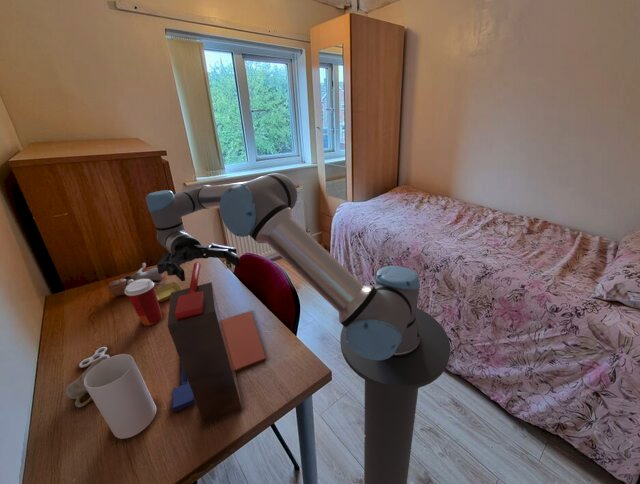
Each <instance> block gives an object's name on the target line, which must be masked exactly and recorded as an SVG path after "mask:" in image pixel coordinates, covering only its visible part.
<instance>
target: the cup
mask: <svg viewBox="0 0 640 484" xmlns="http://www.w3.org/2000/svg"><path fill="white" fill-rule="evenodd" d="M106 358H107V357H106ZM84 386H85V387H86V389H87V391H88V394H89V396H90V397H92V401H93V402H94V404H95V406H96V407H97V409H98V411H99V413H100V414H101V416H102V418H103V419H104V421H105V423H106V425H107V426H108V427H109V429H110V430H111V432H112V434H113V436H114V437H115V438H117V439H129V438H132V437H134V436H136V435H138V434H139V433H141V432H142V431H144V430H145V429H146V428H148V426H150V425H151V423H152V422H153V420H154V419H155V417H156V414H157V406H156V403H155V401H154V399H153V397H152V395H151V393H150V390H149V388H148V386H147V384H146V382H145V380H144V378H143V375H142V374H141V372H140V369H139V367H138V365H137V363H136V361H135V358H134V357H133V355H131V354H128V353H120V354H116V355H112V356H110V357H109V358H107V359H105V360H103V361H101V362H100V363H98V364H97V365H95V366H94V367H93V368H92V369H91V370H90V371H89V372H88V373H87V374H86V376H85V378H84Z"/></svg>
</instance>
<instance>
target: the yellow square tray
mask: <svg viewBox="0 0 640 484" xmlns="http://www.w3.org/2000/svg"><path fill="white" fill-rule="evenodd" d="M166 284H167V286H158V287H157V288H154V289H155V292H156V296H157V299H158V302H161V303H162V302H165V301H167V300H170V294H171V293H172V292H175V291H179V290H183V288H182V286H181V285H180V284H179V283H178V282H177V281H175V280H174V281H171V282H169V283H166Z"/></svg>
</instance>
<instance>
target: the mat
mask: <svg viewBox="0 0 640 484" xmlns="http://www.w3.org/2000/svg"><path fill="white" fill-rule="evenodd" d="M222 323H223V327H224V331H225V334H226V338H227V342H228V346H229V349H230V353H231V357H232V361H233V364H234V368H235V372H237V371H240V370H243V369H245V368H247V367H250V366H253V365H255V364H258V363H260V362H263V361H265V360H266V356H265V353H264V349H263V346H262V341H261V338H260V336H259V332H258V329H257V326H256V322H255V319H254V316H253V313H252V311H247V312H244V313H241V314H237V315H234V316H232V317H228V318H224V319H222Z"/></svg>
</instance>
